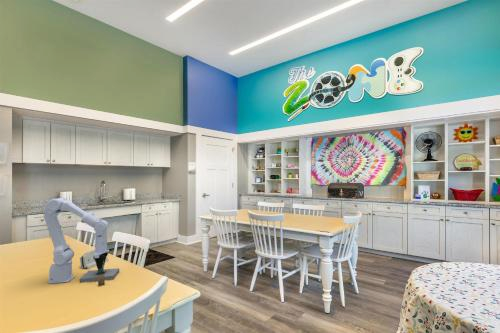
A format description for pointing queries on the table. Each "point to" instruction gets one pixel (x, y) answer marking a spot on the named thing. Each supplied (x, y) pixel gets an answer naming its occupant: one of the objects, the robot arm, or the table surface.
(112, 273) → the hole plate
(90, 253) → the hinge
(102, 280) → the short pin
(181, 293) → the table surface
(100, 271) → the long pin
